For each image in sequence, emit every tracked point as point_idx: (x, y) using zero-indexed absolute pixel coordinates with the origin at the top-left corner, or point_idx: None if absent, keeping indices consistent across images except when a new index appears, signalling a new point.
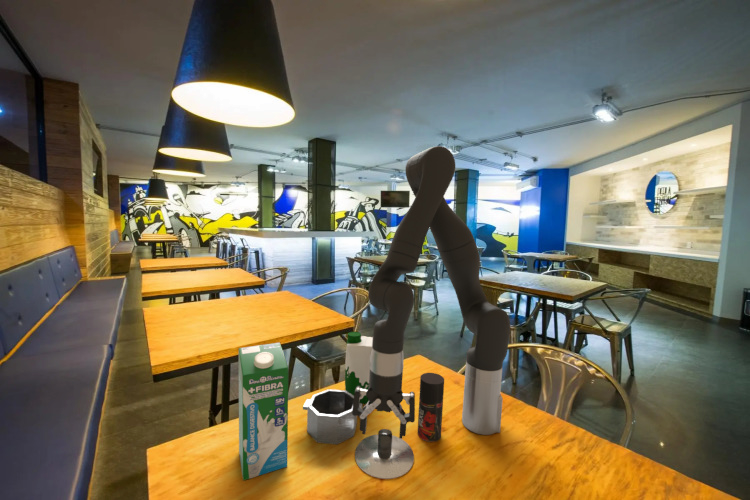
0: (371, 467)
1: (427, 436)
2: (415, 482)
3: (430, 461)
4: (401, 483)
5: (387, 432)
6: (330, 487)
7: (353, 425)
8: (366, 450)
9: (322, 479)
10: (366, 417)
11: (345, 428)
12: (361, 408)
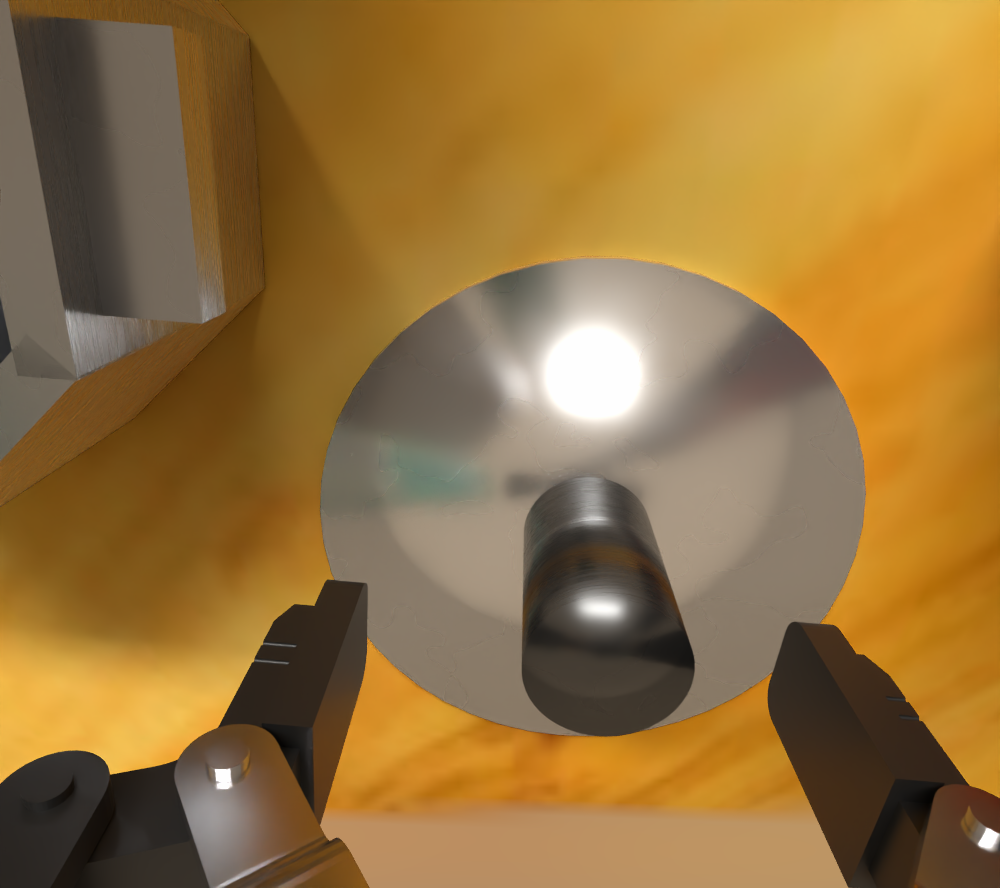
0: (476, 666)
1: None
2: None
3: (987, 575)
4: (688, 753)
5: (637, 659)
6: None
7: (201, 324)
8: (421, 504)
9: (153, 734)
10: (316, 776)
11: (119, 401)
12: (157, 848)
